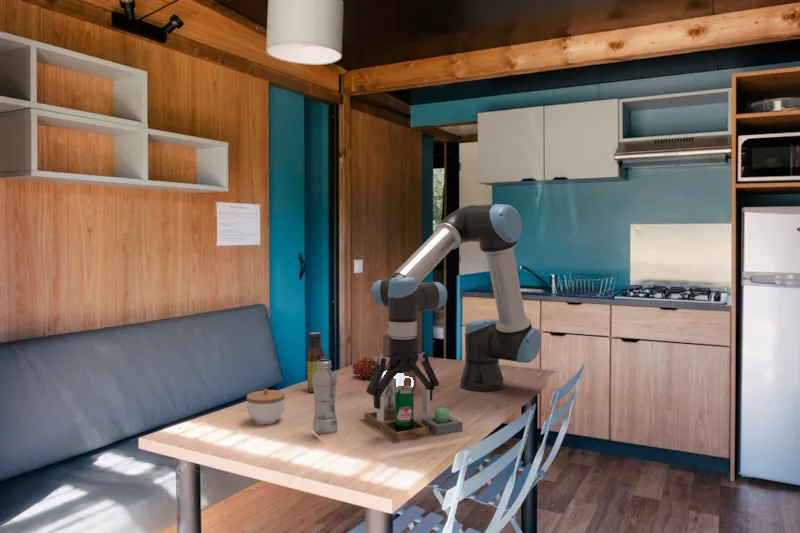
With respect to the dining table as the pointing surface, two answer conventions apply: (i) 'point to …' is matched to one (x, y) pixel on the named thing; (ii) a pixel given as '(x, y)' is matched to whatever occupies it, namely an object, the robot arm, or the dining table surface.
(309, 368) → the sauce bottle
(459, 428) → the grey square holder
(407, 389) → the soda can
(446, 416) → the button
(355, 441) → the dining table surface
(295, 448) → the dining table surface
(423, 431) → the tray
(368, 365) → the reddish brown bumpy oval
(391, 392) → the seated cylinder
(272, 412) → the lidded jar
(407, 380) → the block
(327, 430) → the plastic bottle
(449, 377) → the dining table surface
